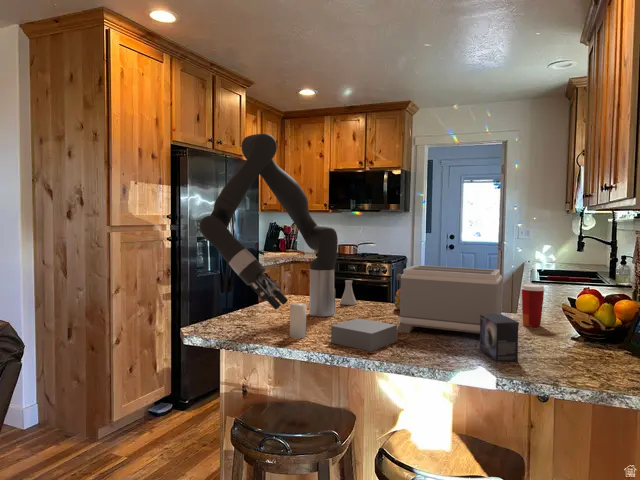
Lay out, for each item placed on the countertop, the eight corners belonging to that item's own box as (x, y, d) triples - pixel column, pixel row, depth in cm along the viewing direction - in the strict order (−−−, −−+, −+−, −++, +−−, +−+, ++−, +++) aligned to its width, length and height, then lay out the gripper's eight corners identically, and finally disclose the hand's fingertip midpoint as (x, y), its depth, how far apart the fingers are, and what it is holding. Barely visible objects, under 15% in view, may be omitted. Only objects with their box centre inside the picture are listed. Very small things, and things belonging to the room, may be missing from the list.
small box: (477, 350, 133) (478, 313, 132) (500, 350, 133) (501, 313, 133) (494, 362, 122) (495, 321, 122) (518, 361, 123) (520, 321, 122)
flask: (355, 306, 198) (356, 282, 197) (338, 305, 199) (338, 281, 199) (357, 303, 205) (358, 280, 204) (341, 302, 206) (341, 279, 206)
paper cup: (546, 325, 166) (548, 285, 165) (539, 328, 160) (540, 287, 160) (523, 321, 171) (525, 283, 171) (515, 325, 166) (517, 285, 165)
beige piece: (296, 333, 149) (297, 302, 149) (309, 336, 146) (309, 304, 145) (286, 336, 145) (286, 304, 145) (298, 339, 142) (299, 306, 142)
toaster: (402, 319, 173) (404, 264, 172) (503, 330, 158) (505, 269, 157) (387, 330, 155) (388, 268, 154) (498, 344, 141) (500, 275, 140)
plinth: (357, 333, 150) (357, 318, 150) (396, 341, 141) (396, 324, 141) (330, 342, 139) (331, 325, 139) (371, 351, 130) (371, 333, 130)
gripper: (247, 260, 140) (284, 300, 138) (262, 256, 154) (296, 293, 152) (230, 277, 141) (267, 317, 140) (246, 272, 155) (280, 308, 154)
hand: (282, 305), depth 146 cm, fingers open, 8 cm apart
